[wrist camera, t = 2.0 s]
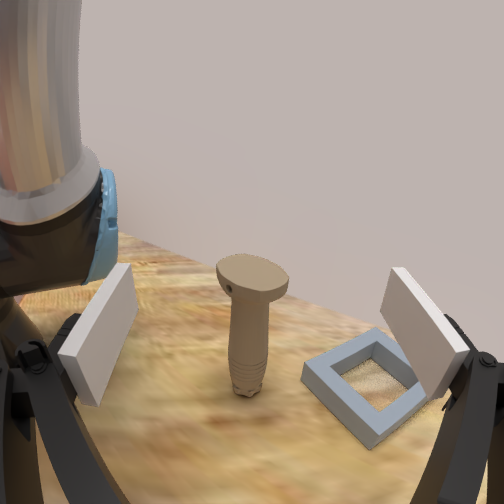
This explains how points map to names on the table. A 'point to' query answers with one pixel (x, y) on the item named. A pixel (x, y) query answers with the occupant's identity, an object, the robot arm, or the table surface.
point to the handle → (249, 315)
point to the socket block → (350, 401)
